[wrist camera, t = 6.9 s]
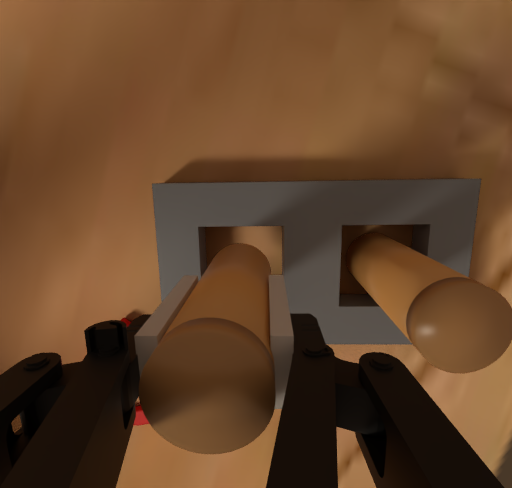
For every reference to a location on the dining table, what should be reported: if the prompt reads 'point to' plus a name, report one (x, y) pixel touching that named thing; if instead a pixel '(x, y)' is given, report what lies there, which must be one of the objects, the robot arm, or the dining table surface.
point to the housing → (318, 236)
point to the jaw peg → (215, 359)
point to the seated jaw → (433, 304)
